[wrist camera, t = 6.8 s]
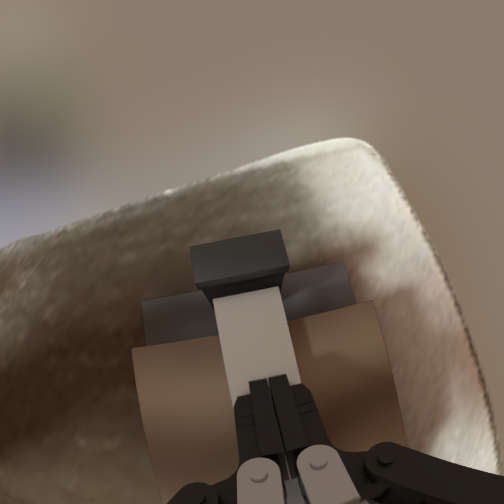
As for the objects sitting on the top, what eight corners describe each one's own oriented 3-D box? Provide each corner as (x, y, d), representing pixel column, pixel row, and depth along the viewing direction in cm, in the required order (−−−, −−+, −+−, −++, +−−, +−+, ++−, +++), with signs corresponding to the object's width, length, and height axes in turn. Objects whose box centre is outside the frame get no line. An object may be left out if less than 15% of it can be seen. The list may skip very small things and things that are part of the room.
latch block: (392, 514, 14) (450, 559, 6) (203, 555, 13) (176, 620, 5) (338, 269, 22) (376, 204, 14) (148, 306, 21) (89, 259, 13)
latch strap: (337, 565, 8) (342, 576, 7) (279, 578, 8) (280, 590, 7) (277, 292, 15) (278, 284, 14) (215, 304, 14) (211, 297, 13)
